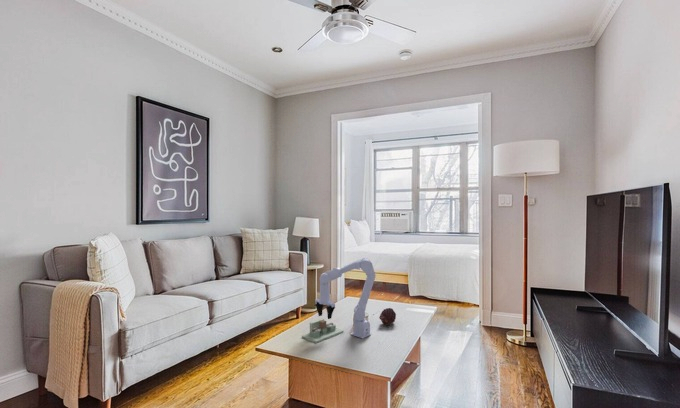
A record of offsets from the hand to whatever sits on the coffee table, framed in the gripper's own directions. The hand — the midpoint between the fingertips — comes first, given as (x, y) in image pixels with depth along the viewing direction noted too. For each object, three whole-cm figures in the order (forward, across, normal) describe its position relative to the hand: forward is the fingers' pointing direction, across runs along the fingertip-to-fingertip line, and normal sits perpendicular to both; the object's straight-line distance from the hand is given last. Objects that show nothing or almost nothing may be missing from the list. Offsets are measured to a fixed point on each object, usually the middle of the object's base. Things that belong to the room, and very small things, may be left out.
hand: (324, 317), depth 207 cm
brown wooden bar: (+6, 0, -2) cm, 6 cm away
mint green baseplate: (+10, 0, -2) cm, 10 cm away
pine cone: (+10, +18, +39) cm, 44 cm away
